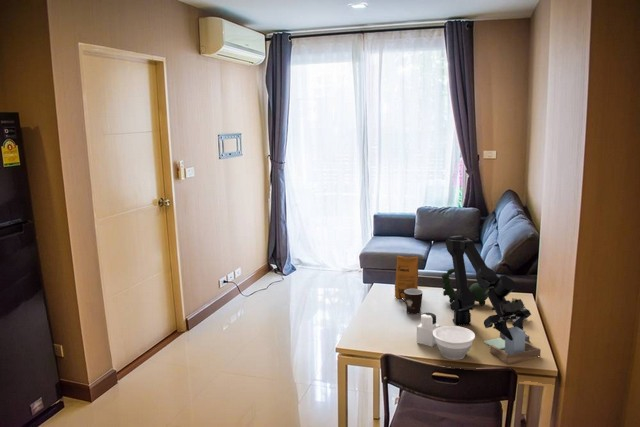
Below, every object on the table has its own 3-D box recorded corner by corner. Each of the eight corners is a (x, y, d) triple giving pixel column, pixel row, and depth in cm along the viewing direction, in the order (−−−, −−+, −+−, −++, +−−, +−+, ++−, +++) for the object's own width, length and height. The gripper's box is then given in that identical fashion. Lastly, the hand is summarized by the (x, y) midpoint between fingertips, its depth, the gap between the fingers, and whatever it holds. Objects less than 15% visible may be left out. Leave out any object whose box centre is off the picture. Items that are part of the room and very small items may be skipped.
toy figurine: (443, 308, 243) (497, 307, 236) (440, 271, 240) (494, 269, 233) (444, 302, 252) (496, 301, 245) (441, 266, 249) (493, 264, 242)
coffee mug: (426, 313, 234) (426, 292, 232) (410, 316, 231) (410, 295, 229) (413, 305, 245) (412, 285, 243) (397, 308, 242) (397, 288, 240)
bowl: (426, 357, 190) (426, 337, 188) (440, 342, 203) (441, 322, 201) (467, 367, 181) (467, 346, 179) (480, 350, 194) (480, 330, 192)
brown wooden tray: (490, 352, 192) (490, 345, 192) (520, 345, 197) (520, 338, 196) (508, 364, 182) (508, 356, 182) (540, 356, 187) (540, 349, 187)
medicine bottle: (424, 336, 208) (424, 309, 206) (440, 340, 204) (440, 313, 202) (416, 342, 203) (416, 315, 201) (432, 347, 199) (432, 318, 196)
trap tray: (499, 336, 206) (500, 332, 205) (515, 333, 208) (515, 328, 208) (513, 344, 198) (513, 339, 198) (529, 341, 201) (529, 336, 200)
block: (504, 352, 191) (505, 328, 190) (515, 350, 193) (516, 326, 191) (513, 358, 187) (514, 333, 185) (524, 355, 188) (525, 331, 187)
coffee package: (397, 292, 264) (396, 252, 260) (420, 295, 259) (420, 254, 255) (392, 298, 255) (392, 257, 251) (416, 301, 250) (416, 259, 246)
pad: (483, 342, 201) (483, 341, 201) (499, 339, 204) (499, 337, 203) (496, 350, 194) (496, 349, 193) (513, 346, 196) (513, 345, 196)
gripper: (489, 296, 186) (508, 334, 178) (528, 289, 192) (549, 326, 184) (475, 309, 195) (493, 346, 187) (513, 302, 201) (532, 337, 193)
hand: (517, 339), depth 187 cm, fingers closed on block, 5 cm apart
